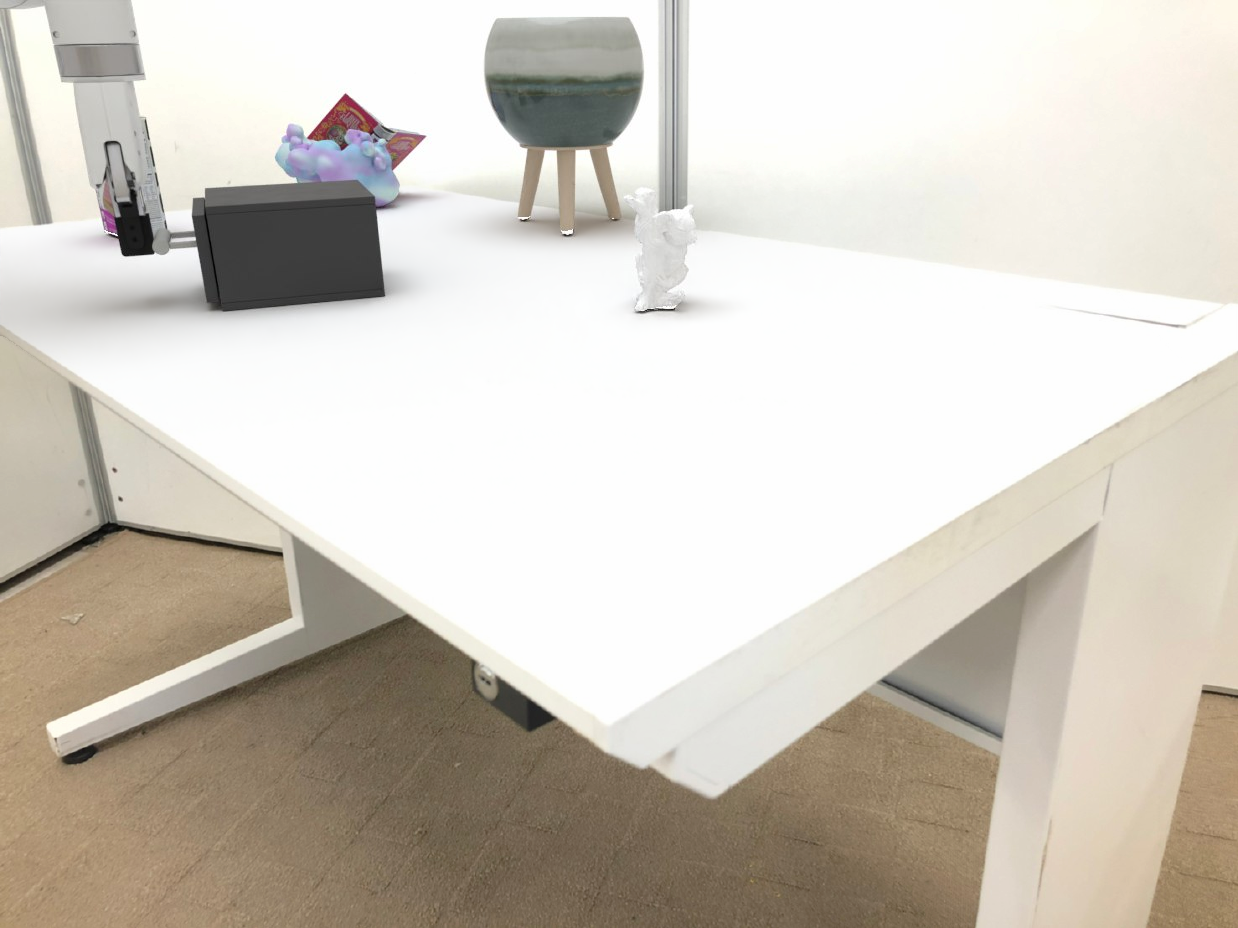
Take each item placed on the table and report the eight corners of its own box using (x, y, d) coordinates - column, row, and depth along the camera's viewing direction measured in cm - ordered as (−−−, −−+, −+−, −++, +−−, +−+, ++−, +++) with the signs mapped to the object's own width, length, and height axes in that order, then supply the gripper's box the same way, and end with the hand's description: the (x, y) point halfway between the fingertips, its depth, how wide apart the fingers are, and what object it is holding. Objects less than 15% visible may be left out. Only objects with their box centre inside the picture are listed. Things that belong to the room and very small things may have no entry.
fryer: (222, 311, 103) (204, 206, 99) (220, 282, 115) (204, 188, 110) (385, 296, 108) (375, 196, 104) (367, 270, 120) (357, 179, 116)
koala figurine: (638, 318, 99) (638, 194, 94) (607, 303, 105) (605, 186, 100) (710, 308, 103) (713, 188, 98) (676, 294, 108) (678, 180, 103)
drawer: (161, 306, 101) (144, 218, 98) (165, 280, 112) (150, 200, 108) (360, 288, 108) (351, 205, 104) (346, 265, 118) (337, 189, 115)
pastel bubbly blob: (262, 186, 152) (312, 78, 147) (266, 163, 170) (311, 67, 166) (385, 248, 161) (436, 148, 156) (377, 220, 179) (422, 129, 175)
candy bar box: (102, 234, 142) (76, 113, 136) (137, 229, 146) (113, 110, 139) (135, 245, 135) (109, 117, 129) (171, 239, 139) (148, 114, 132)
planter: (657, 214, 154) (658, 17, 143) (625, 242, 135) (624, 16, 123) (520, 210, 159) (511, 19, 148) (470, 236, 139) (455, 18, 128)
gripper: (67, 64, 102) (106, 244, 110) (47, 68, 89) (92, 272, 97) (147, 62, 105) (179, 238, 112) (138, 66, 92) (176, 265, 99)
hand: (139, 253), depth 104 cm, fingers closed
